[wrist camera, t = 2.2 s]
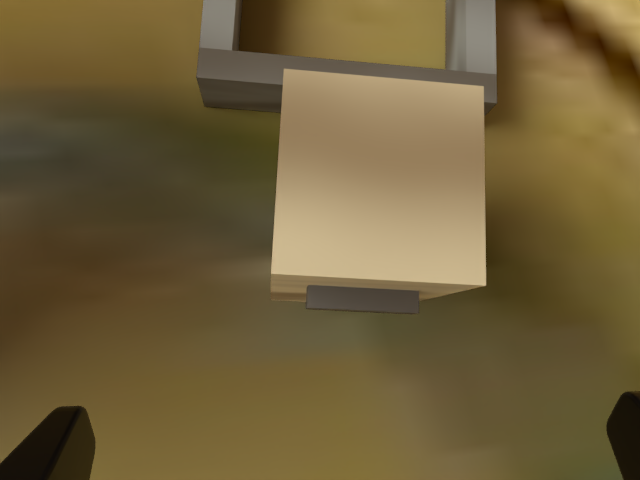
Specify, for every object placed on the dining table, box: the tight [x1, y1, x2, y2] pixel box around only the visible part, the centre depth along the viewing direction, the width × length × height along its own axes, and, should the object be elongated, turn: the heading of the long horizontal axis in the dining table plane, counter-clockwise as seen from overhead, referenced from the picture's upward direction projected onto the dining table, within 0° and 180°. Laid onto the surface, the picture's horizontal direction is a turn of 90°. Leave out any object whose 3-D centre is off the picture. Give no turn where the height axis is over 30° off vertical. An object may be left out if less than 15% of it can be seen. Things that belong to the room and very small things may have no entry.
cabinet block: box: [271, 69, 486, 314], centre depth 17 cm, size 6×5×9 cm
